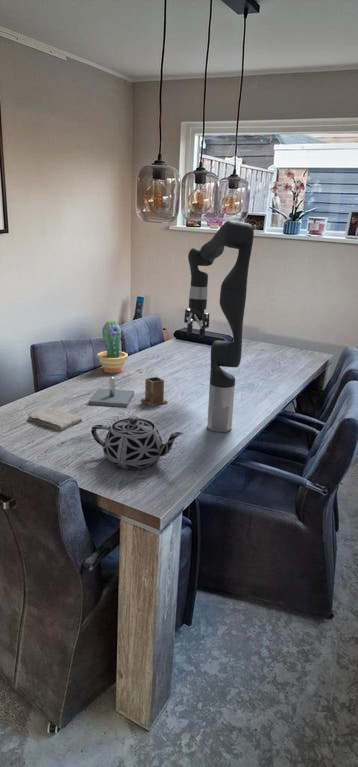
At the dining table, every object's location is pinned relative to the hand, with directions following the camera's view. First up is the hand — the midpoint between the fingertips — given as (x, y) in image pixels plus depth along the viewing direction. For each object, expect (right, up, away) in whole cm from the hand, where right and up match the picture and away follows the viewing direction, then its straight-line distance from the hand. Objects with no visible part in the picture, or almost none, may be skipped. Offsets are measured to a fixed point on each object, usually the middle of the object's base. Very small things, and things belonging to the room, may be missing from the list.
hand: (195, 335), depth 220 cm
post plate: (-35, -27, -2) cm, 45 cm away
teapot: (-21, -46, -54) cm, 74 cm away
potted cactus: (-40, -14, +38) cm, 57 cm away
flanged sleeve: (-17, -28, -3) cm, 33 cm away
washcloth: (-54, -35, -26) cm, 69 cm away
